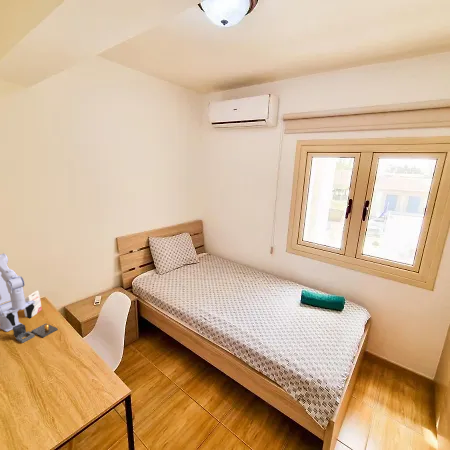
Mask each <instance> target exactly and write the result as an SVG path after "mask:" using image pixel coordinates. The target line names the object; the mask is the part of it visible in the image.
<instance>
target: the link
mask: <svg viewBox="0 0 450 450" xmlns="http://www.w3.org/2000/svg"><path fill="white" fill-rule="evenodd" d="M12 332H13V336H14V338H15V340H16V341H17V342H19V343H21V344H24V343H26V342H28V341H29V340H31V339H33V338H35V335H36V334H34V333H32V332H31V331H28V330H26V325H25V324H23V323H22V324H19V325H17V326H15V327H13V329H12Z"/></svg>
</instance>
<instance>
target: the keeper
mask: <svg viewBox="0 0 450 450" xmlns="http://www.w3.org/2000/svg"><path fill="white" fill-rule="evenodd" d="M58 330H59V329H58V327H55V326H53V325H51V324H49V323H43V324H42V325H40V326H38V327H36V328H33V329H32V330H31V331H30V332H31V333H33V334H34V335H36V336H39V337H41V338H45V337H47V336H49V335H51V334H52V333H55V332H56V331H58Z"/></svg>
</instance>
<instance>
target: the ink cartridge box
mask: <svg viewBox="0 0 450 450" xmlns="http://www.w3.org/2000/svg"><path fill="white" fill-rule="evenodd" d="M32 300H34V301H35V304H34V309H33V311H32V315H31V318H33V317H34V316H36V315H38V313H40V312H41V311H43V308H42V301H41V296H40V291H39V290H35V291H33V292H32V293H31V294H29V295H28V296H27V297H25V302H29V301H32ZM23 312H24V313H23V314H24V316H25V318H28V317H27V312H26V309H23Z"/></svg>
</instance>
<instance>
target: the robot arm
mask: <svg viewBox="0 0 450 450" xmlns="http://www.w3.org/2000/svg"><path fill="white" fill-rule="evenodd" d="M8 262H9V258H8V256H7V254H6V253H4V252H3V253H1V254H0V329H1V330H3V331H4V332H6V333H7V332H10V331H13V327H15V326H17V325H19V324H23V323H21V322H20V321H19V315H18V312H19V311H22V310H23V311H24V309H26V312H27V317H26V318H27V319H31V318H32V317H31V315H32V311H33V309H34V304H35V301H34V300H32V301H29V302H25V298H26V296H25V291H24V286H25V280H24V278H23V277H22V276H20V275H18V274H17V273H16V272H15V270H14V269H11V268H10V267H9V266H8Z"/></svg>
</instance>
